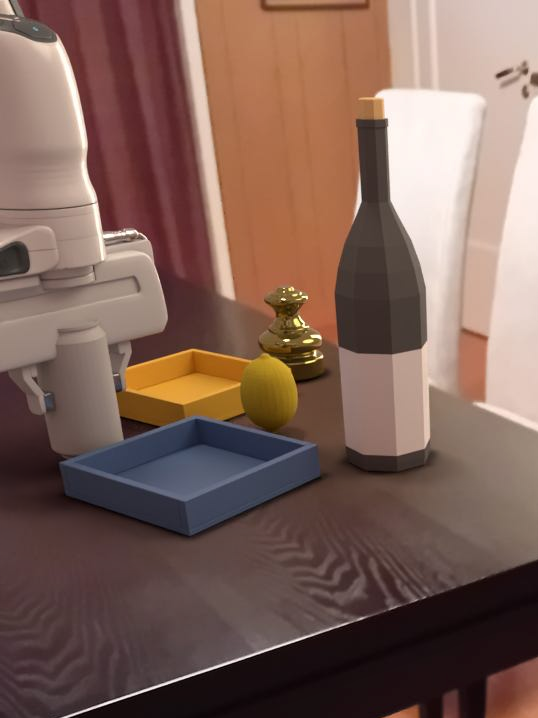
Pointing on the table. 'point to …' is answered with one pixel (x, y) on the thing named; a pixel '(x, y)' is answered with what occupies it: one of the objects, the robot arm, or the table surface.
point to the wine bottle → (381, 319)
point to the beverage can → (81, 392)
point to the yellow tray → (183, 388)
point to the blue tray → (190, 473)
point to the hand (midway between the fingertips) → (79, 401)
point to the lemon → (268, 393)
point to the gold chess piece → (292, 335)
